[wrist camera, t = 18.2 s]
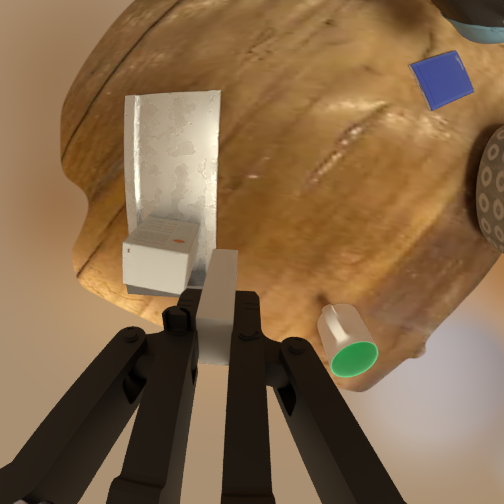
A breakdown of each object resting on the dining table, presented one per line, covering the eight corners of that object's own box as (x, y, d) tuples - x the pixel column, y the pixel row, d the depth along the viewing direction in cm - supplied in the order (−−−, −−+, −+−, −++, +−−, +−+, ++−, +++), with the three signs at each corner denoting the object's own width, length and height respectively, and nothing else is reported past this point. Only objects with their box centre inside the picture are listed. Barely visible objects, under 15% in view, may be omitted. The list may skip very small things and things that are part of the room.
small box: (145, 249, 41) (120, 284, 32) (148, 214, 39) (120, 241, 29) (196, 258, 42) (184, 297, 33) (201, 223, 40) (188, 254, 30)
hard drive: (456, 50, 28) (411, 64, 31) (475, 92, 31) (432, 111, 34) (451, 51, 30) (406, 66, 32) (469, 92, 33) (427, 111, 35)
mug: (297, 306, 48) (308, 347, 39) (336, 280, 46) (356, 317, 37) (329, 344, 52) (343, 383, 43) (364, 322, 50) (384, 358, 41)
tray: (131, 97, 33) (114, 93, 28) (222, 92, 34) (218, 86, 29) (139, 274, 45) (127, 293, 39) (217, 278, 45) (214, 299, 40)
